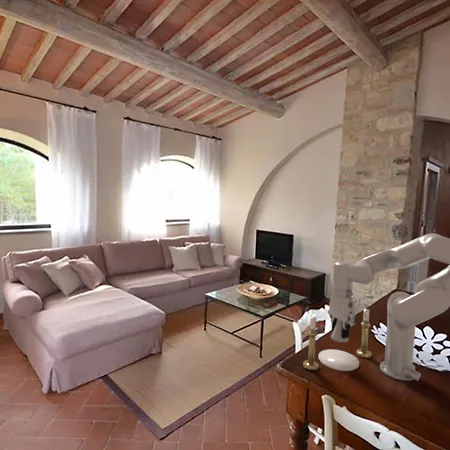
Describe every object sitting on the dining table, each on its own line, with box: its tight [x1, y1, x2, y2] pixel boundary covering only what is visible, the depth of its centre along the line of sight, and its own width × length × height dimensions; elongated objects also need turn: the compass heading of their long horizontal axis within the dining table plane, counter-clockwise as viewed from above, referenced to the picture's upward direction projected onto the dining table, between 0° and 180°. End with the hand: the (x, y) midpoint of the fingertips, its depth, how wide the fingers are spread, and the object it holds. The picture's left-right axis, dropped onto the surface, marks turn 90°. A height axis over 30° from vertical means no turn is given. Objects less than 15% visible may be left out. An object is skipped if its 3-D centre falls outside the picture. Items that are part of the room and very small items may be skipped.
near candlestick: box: [302, 316, 320, 371], centre depth 126 cm, size 6×6×20 cm
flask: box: [330, 319, 350, 343], centre depth 130 cm, size 7×7×10 cm
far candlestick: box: [355, 308, 373, 359], centre depth 136 cm, size 6×6×20 cm
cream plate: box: [317, 349, 360, 372], centre depth 132 cm, size 16×16×1 cm
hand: (339, 334), depth 131 cm, fingers closed on flask, 5 cm apart
